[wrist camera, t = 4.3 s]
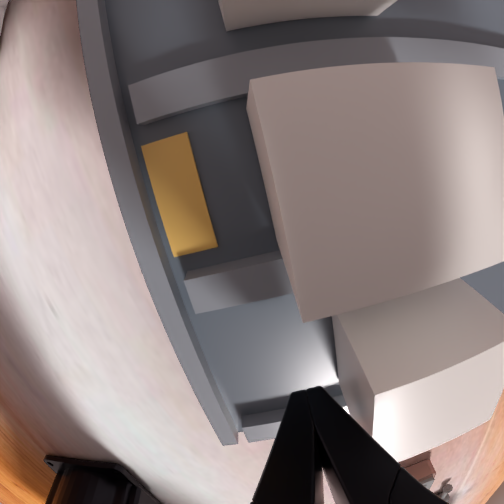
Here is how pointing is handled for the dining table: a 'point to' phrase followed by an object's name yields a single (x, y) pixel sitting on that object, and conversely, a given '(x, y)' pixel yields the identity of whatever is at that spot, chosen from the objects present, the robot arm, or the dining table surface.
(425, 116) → the beige block
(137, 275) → the dining table surface
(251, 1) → the beige block
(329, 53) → the grey tray
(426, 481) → the clamp
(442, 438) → the white block
